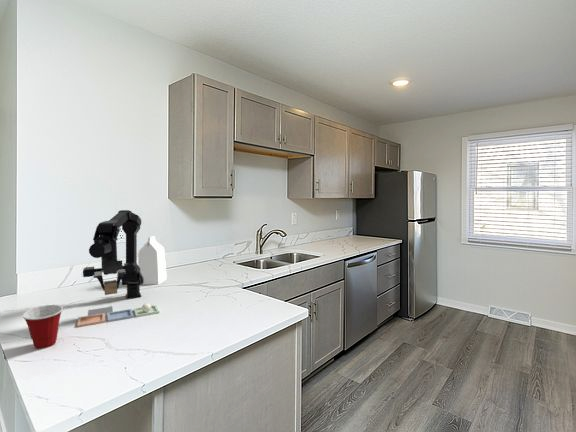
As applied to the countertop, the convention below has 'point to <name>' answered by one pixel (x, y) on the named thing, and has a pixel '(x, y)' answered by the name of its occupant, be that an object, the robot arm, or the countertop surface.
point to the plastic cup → (43, 324)
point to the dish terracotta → (91, 320)
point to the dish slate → (120, 315)
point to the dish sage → (140, 312)
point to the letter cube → (110, 287)
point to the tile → (100, 311)
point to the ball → (146, 307)
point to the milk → (152, 262)
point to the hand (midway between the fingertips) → (110, 289)
